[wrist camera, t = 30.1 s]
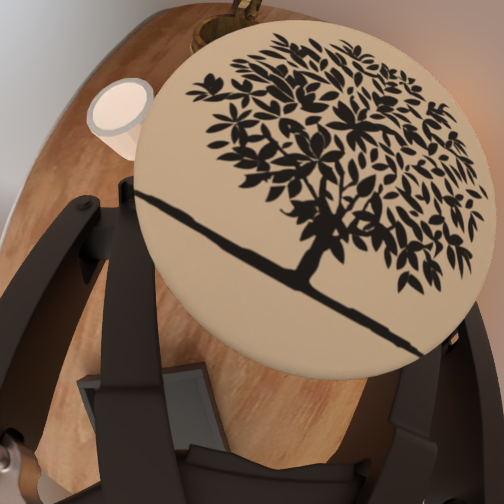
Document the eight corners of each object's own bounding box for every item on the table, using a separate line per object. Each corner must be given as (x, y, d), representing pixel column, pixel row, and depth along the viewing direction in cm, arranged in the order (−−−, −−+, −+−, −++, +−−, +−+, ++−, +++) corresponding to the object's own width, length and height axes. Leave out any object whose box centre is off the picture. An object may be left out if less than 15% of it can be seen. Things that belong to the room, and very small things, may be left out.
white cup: (102, 158, 28) (73, 129, 21) (130, 108, 29) (110, 73, 22) (152, 173, 28) (129, 143, 21) (180, 120, 29) (167, 82, 22)
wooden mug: (293, 65, 31) (322, -52, 13) (253, 146, 29) (269, 5, 11) (228, 46, 31) (226, -68, 13) (178, 122, 29) (134, -9, 11)
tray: (245, 493, 24) (245, 505, 22) (138, 497, 23) (133, 507, 21) (204, 361, 26) (201, 368, 24) (86, 375, 25) (75, 381, 23)
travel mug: (255, 187, 23) (292, -18, 5) (334, 249, 23) (524, 165, 5) (191, 266, 22) (40, 195, 4) (274, 330, 22) (385, 463, 4)
